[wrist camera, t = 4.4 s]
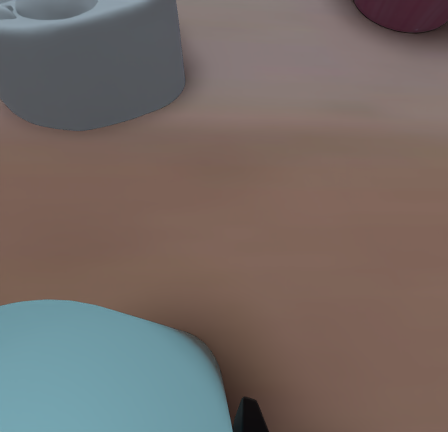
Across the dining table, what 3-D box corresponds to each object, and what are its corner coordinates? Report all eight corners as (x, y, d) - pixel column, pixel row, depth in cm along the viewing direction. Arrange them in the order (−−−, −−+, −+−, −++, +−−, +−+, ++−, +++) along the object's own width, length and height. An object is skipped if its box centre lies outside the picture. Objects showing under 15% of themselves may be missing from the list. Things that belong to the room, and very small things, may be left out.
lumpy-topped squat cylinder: (196, 101, 22) (186, -39, 14) (14, 154, 19) (-128, 23, 11) (155, 17, 25) (127, -132, 17) (-3, 52, 23) (-118, -100, 15)
